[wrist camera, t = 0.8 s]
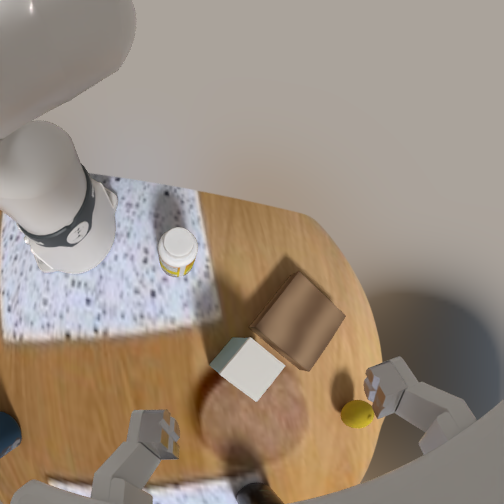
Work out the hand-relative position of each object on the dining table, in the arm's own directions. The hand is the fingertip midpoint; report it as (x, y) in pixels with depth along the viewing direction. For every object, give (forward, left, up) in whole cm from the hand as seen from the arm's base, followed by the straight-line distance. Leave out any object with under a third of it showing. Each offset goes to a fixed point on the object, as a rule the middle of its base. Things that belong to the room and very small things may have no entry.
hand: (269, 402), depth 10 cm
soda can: (-15, -38, -34) cm, 53 cm away
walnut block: (+10, +15, -34) cm, 39 cm away
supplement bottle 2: (+26, -16, -34) cm, 46 cm away
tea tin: (+6, +3, -34) cm, 35 cm away
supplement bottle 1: (-12, +9, -34) cm, 37 cm away
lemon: (+30, +8, -34) cm, 46 cm away
